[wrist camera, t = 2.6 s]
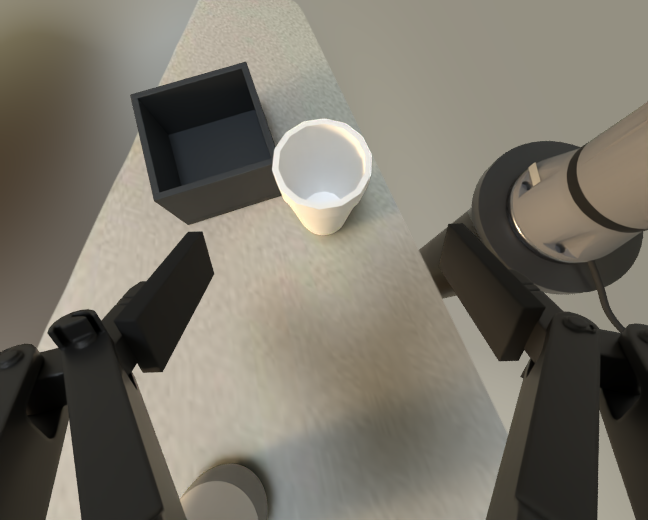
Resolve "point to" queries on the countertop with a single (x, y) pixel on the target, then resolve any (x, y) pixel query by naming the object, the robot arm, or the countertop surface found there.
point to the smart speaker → (226, 495)
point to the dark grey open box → (206, 144)
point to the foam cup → (322, 172)
